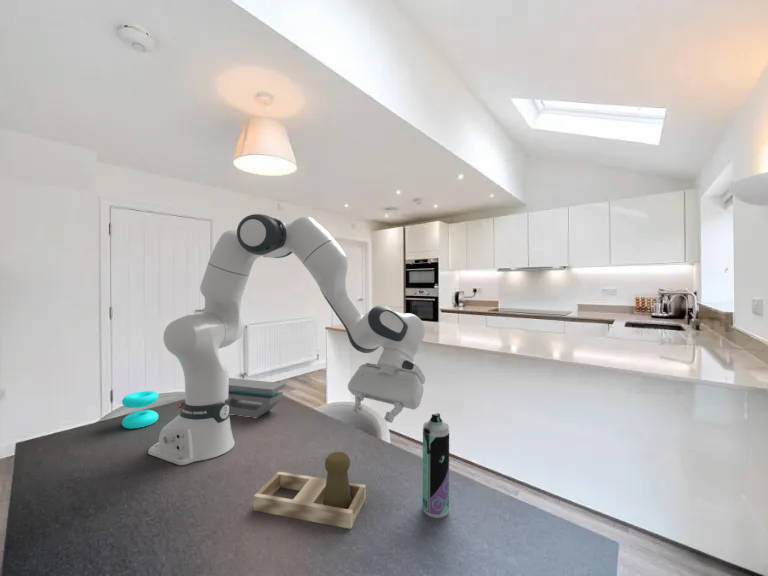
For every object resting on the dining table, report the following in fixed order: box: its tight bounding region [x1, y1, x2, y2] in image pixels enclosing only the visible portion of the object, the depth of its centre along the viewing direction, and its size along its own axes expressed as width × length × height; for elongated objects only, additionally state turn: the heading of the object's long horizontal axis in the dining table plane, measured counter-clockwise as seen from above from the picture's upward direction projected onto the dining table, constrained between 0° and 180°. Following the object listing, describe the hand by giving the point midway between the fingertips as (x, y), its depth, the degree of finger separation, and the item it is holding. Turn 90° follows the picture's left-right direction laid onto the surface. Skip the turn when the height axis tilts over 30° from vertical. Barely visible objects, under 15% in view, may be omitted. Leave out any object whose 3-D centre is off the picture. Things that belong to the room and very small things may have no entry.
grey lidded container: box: [229, 377, 286, 418], centre depth 123 cm, size 25×8×11 cm, turn 74°
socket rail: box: [253, 471, 367, 530], centre depth 71 cm, size 22×10×3 cm, turn 76°
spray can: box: [422, 412, 450, 519], centre depth 70 cm, size 6×6×20 cm
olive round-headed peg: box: [323, 451, 351, 509], centre depth 70 cm, size 6×6×11 cm
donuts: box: [121, 390, 160, 430], centre depth 113 cm, size 10×10×10 cm
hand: (371, 416), depth 80 cm, fingers open, 8 cm apart
